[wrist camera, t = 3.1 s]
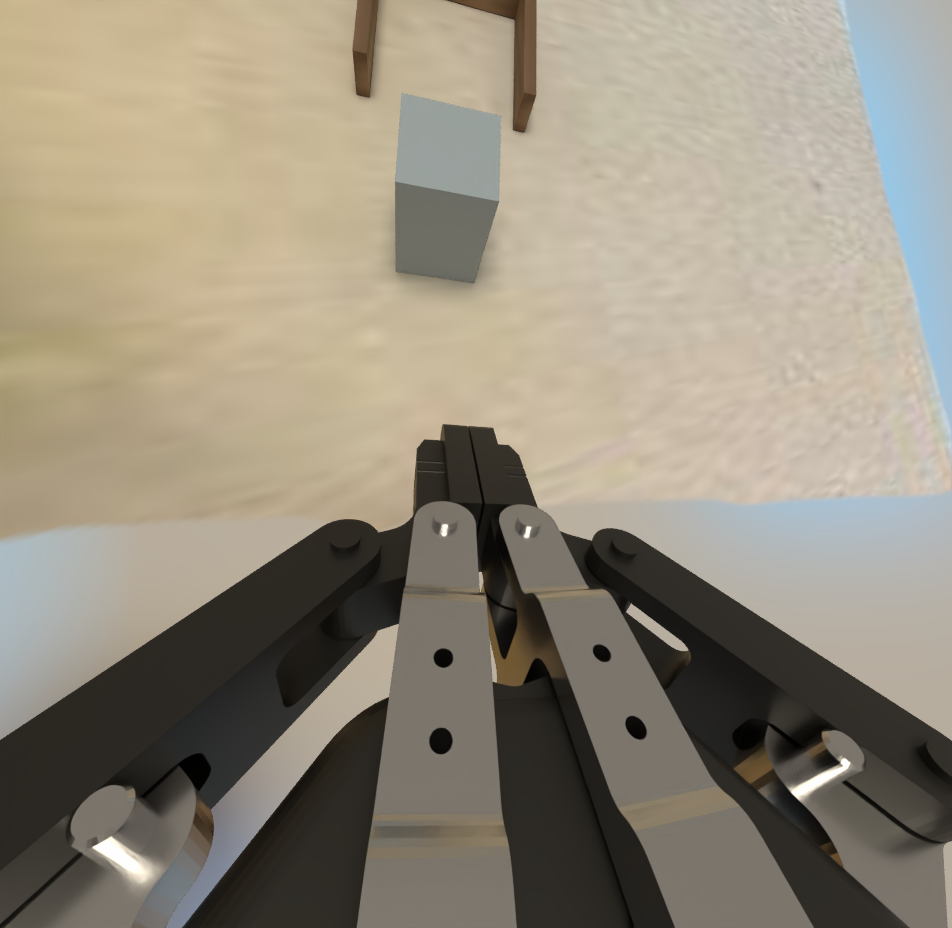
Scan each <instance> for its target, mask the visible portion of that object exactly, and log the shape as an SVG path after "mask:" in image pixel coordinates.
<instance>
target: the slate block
mask: <svg viewBox="0 0 952 928" xmlns="http://www.w3.org/2000/svg"><path fill="white" fill-rule="evenodd" d="M500 137H501V116H499V115H494V114H490V113H486V112H482V111H477V110H473V109H469V108H464V107H460V106H456V105H451V104H447V103H443V102H438V101H434V100H430V99H426V98H421V97H417V96H413V95H408V94H404V93H402V96H401V109H400V123H399V136H398V150H397V164H396V177H395V231H396V272H402V273H409V274H416V275H422V276H429V277H436V278H442V279H449V280H456V281H463V282H469V283H474V281H475V277H476V274H477V271H478V268H479V264H480V261H481V258H482V255H483V252H484V248H485V245H486V242H487V239H488V235H489V232H490V229H491V226H492V223H493V219H494V216H495V213H496V210H497V206H498V203H499V183H500Z"/></svg>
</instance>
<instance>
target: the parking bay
mask: <svg viewBox="0 0 952 928" xmlns="http://www.w3.org/2000/svg"><path fill="white" fill-rule="evenodd" d="M449 1H453V2H456V3H460V4H463V5H467V6H470V7H474V8H477V9H481V10H485V11H488V12H492V13H495V14H499V15H502V16H506V17H509V18H513V19H515V44H514V109H513V130H516V131H521V132H525V129H526V125H527V122H528V119H529V116H530V113H531V110H532V107H533V104H534V100H535V97H536V0H449ZM377 9H378V0H358V1H357V11H356V21H355V31H354V41H353V60H354V71H355V82H356V92H357V94H358V95H362V96H367V97H370V87H371V76H372V65H373V53H374V42H375V31H376V20H377Z"/></svg>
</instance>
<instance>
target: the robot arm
mask: <svg viewBox="0 0 952 928" xmlns="http://www.w3.org/2000/svg"><path fill="white" fill-rule="evenodd" d="M478 572H482V574H483V581H484V582H483V586H482V590H481V593H480V589H479V573H478ZM631 603H632V604H633V605H634V606H636V607H637V608H638V609H640V610H641V611H642V612H644V613H645V614H646V615H648V616H649V617H650V618H652V619H653V620H654V621H656V622H657V623H658V624H660V625H661V626H662V627H664V628H665V629H666V630H668V631H669V632H670V633H672V634H673V635H674V636H676V637H677V638H678V639H680V640H681V641H682V642H683V643H684V644H685V645H686V646H687V648H688V649H689V650H688V651H679V650H676V649H674V648H672V647H671V646H669V645H668V644H666V643H665V642H664V641H663V640H661V639H660V638H659V637H657V636H656V635H655V634H654V633H652V632H651V631H650V630H648V629H647V628H646V627H644V626H643V625H642V624H641V623H639V622H638V621H637V620H635V619H634V618H633V617H631V616H630V615H629V614H628V613H626V611H627V609H628V608H629V606H630V604H631ZM396 624H399V628H398V636H397V642H396V650H395V658H394V666H393V672H392V680H391V687H390V695H389V697H388V698H386V699H384V700H381V701H379V702H378V703H375V704H374V705H372V706H370V707H369V708H367V709H366V710H364V711H363V712H361V713H360V714H358V715H357V716H356V717H355V718H353V719H352V720H351V721H350V722H349V723H347V724H346V725H345V726H344V727H343V728H342V729H341V730H340V731H339V732H338V733H337V734H336V735H335V736H334V737H333V739H332V740H331V741H330V742H329V743H328V744H327V746H326V747H325V748H324V749H323V751H322V752H321V753H320V754H319V756H318V757H317V758H316V760H315V761H314V762H313V764H312V765H311V766H310V767H309V768H308V770H307V771H306V772H305V774H304V775H303V776H302V777H301V778H300V780H299V781H298V782H297V784H296V785H295V786H294V787H293V789H292V790H291V791H290V792H289V794H288V795H287V796H286V798H285V799H284V800H283V801H282V802H281V804H280V805H279V806H278V808H277V809H276V810H275V812H274V813H273V814H272V815H271V817H270V818H269V819H268V820H267V821H266V823H265V824H264V825H263V827H262V828H261V829H260V830H259V832H258V833H257V834H256V836H255V837H254V838H253V839H252V840H251V842H250V843H249V844H248V846H247V847H246V848H245V849H244V851H243V852H242V853H241V854H240V856H239V857H238V858H237V860H236V861H235V862H234V863H233V864H232V866H231V867H230V868H229V870H228V871H227V872H226V873H225V875H224V876H223V877H222V878H221V880H220V881H219V882H218V883H217V885H216V886H215V887H214V889H213V890H212V891H211V892H210V893H209V895H208V896H207V897H206V898H205V900H204V901H203V902H202V904H201V905H200V906H199V907H198V909H197V910H196V911H195V912H194V914H193V915H192V916H191V918H190V919H189V920H188V921H187V922H186V924H185V925H184V926H183V927H182V928H948V927H947V912H946V894H945V876H944V860H943V847H944V845H945V844H946V843H947V842H950V841H952V741H951V740H950V739H949V738H947V737H946V736H944V735H943V734H941V733H940V732H938V731H937V730H935V729H933V728H932V727H930V726H929V725H927V724H926V723H924V722H923V721H921V720H920V719H918V718H916V717H915V716H913V715H912V714H910V713H909V712H907V711H906V710H904V709H902V708H901V707H899V706H898V705H896V704H895V703H893V702H892V701H890V700H889V699H887V698H886V697H884V696H882V695H881V694H879V693H878V692H876V691H875V690H873V689H872V688H870V687H869V686H867V685H865V684H863V683H862V682H860V681H859V680H858V679H856V678H855V677H853V676H851V675H850V674H848V673H847V672H845V671H844V670H842V669H841V668H839V667H837V666H836V665H834V664H833V663H831V662H830V661H828V660H827V659H825V658H823V657H822V656H820V655H819V654H817V653H816V652H814V651H813V650H811V649H809V648H808V647H806V646H805V645H803V644H802V643H800V642H799V641H797V640H796V639H794V638H792V637H791V636H789V635H788V634H786V633H785V632H783V631H782V630H780V629H778V628H777V627H775V626H774V625H772V624H771V623H769V622H768V621H766V620H765V619H763V618H761V617H760V616H758V615H757V614H755V613H754V612H752V611H751V610H749V609H747V608H746V607H744V606H743V605H741V604H740V603H738V602H737V601H735V600H734V599H732V598H730V597H729V596H727V595H726V594H724V593H723V592H721V591H720V590H718V589H716V588H715V587H713V586H712V585H710V584H709V583H707V582H706V581H704V580H703V579H701V578H699V577H698V576H696V575H695V574H693V573H692V572H690V571H689V570H687V569H686V568H684V567H682V566H681V565H679V564H678V563H676V562H674V561H673V560H671V559H670V558H668V557H666V556H665V555H664V554H662V553H661V552H659V551H657V550H656V549H654V548H653V547H651V546H650V545H648V544H647V543H645V542H644V541H642V540H641V539H639V538H637V537H636V536H634V535H632V534H630V533H628V532H626V531H623V530H619V529H613V528H610V529H609V528H607V529H602V530H600V531H598V532H597V533H596V534H595V535H594V537H593V539H592V541H590V540H587V539H583V538H579V537H576V536H572V535H569V534H566V533H563V532H561V531H559V529H558V527H557V525H556V523H555V521H554V520H553V519H552V517H551V516H549V515H548V514H547V513H546V512H544V511H543V510H541V509H539V508H538V507H537V504H536V501H535V499H534V496H533V493H532V490H531V487H530V485H529V482H528V479H527V478H526V474H525V471H524V468H523V465H522V462H521V460H520V457H519V455H518V454H517V453H516V452H515V451H514V450H513V449H512V448H511V447H510V446H509V445H499V444H498V443H497V439H496V436H495V433H494V429H493V428H488V427H475V426H468V427H467V426H460V425H447V424H443V425H442V430H441V438H440V441H439V440H425V439H424V441H423V442H422V443H421V444H420V446H419V447H418V448H417V455H416V468H415V481H414V504H413V517H412V518H411V519H410V520H409V521H408V522H407V523H405V524H404V525H402V526H400V527H398V528H395V529H392V530H388V531H383V532H379V533H378V531H377V530H376V529H375V528H374V527H373V526H371V525H370V524H368V523H366V522H363V521H360V520H353V519H344V520H337V521H334V522H331V523H328V524H326V525H324V526H322V527H321V528H319V529H318V530H316V531H315V532H313V533H312V534H310V535H309V536H307V537H306V538H304V539H303V540H301V541H300V542H298V543H297V544H295V545H294V546H292V547H291V548H289V549H288V550H286V551H285V552H283V553H282V554H280V555H279V556H277V557H276V558H274V559H273V560H271V561H270V562H268V563H267V564H265V565H263V566H262V567H260V568H259V569H257V570H256V571H254V572H253V573H251V574H250V575H249V576H247V577H245V578H244V579H242V580H241V581H239V582H238V583H236V584H235V585H233V586H232V587H230V588H229V589H227V590H226V591H224V592H223V593H221V594H220V595H218V596H217V597H215V598H214V599H212V600H211V601H209V602H208V603H206V604H205V605H203V606H202V607H200V608H199V609H197V610H196V611H194V612H193V613H191V614H190V615H188V616H187V617H185V618H184V619H182V620H181V621H179V622H178V623H176V624H175V625H173V626H172V627H170V628H169V629H167V630H166V631H164V632H163V633H161V634H160V635H158V636H156V637H155V638H153V639H152V640H150V641H149V642H147V643H146V644H145V645H143V646H142V647H140V648H138V649H137V650H135V651H134V652H132V653H131V654H129V655H128V656H126V657H125V658H123V659H122V660H120V661H119V662H117V663H116V664H114V665H113V666H111V667H110V668H108V669H107V670H105V671H104V672H102V673H101V674H99V675H98V676H96V677H95V678H93V679H92V680H90V681H89V682H87V683H86V684H84V685H83V686H81V687H80V688H78V689H77V690H75V691H74V692H72V693H71V694H69V695H68V696H66V697H65V698H63V699H61V700H60V701H58V702H57V703H55V704H54V705H53V706H51V707H50V708H48V709H46V710H45V711H43V712H42V713H40V714H39V715H37V716H36V717H34V718H33V719H31V720H30V721H28V722H27V723H25V724H24V725H22V726H21V727H19V728H18V729H16V730H15V731H13V732H12V733H10V734H9V735H7V736H6V737H4V738H3V739H1V740H0V928H166V926H167V924H168V921H169V919H170V917H171V916H172V914H173V912H174V911H175V909H176V907H177V906H178V904H179V903H180V901H181V900H182V899H183V897H184V896H185V894H186V893H187V892H188V890H189V889H190V887H191V886H192V885H193V883H194V882H195V880H196V879H197V877H198V875H199V874H200V872H201V870H202V868H203V866H204V864H205V862H206V859H207V857H208V854H209V851H210V848H211V845H212V840H213V832H214V823H213V816H212V813H211V809H212V808H213V807H214V806H215V805H216V803H218V801H219V800H220V799H221V798H222V797H223V796H224V795H225V794H226V793H227V792H228V791H229V790H230V789H231V788H232V787H233V786H234V785H235V784H236V782H237V781H238V780H239V779H240V778H241V777H242V776H243V775H244V774H245V773H246V772H247V771H248V770H249V769H250V768H251V767H252V766H253V765H254V764H255V762H256V761H257V760H258V759H259V758H260V757H261V756H262V755H263V754H264V753H265V752H266V751H267V750H268V749H269V748H270V747H271V746H272V745H273V744H274V742H275V741H276V740H277V739H278V738H279V737H280V736H281V735H282V734H283V733H284V732H285V731H286V730H287V729H288V728H289V727H290V726H291V725H292V723H293V722H294V721H295V720H296V719H297V718H298V717H299V716H300V715H301V714H302V713H303V712H304V711H305V710H306V709H307V708H308V707H309V706H310V705H311V703H313V701H314V700H315V699H316V698H317V697H318V696H319V695H320V694H321V693H322V692H323V691H324V690H325V689H326V688H327V686H329V685H330V683H332V681H333V680H334V679H335V678H336V677H337V676H338V675H339V674H340V673H341V672H342V671H343V670H344V669H345V668H346V667H347V666H348V665H349V664H350V662H351V661H352V660H353V659H354V658H355V657H356V656H357V655H358V654H359V653H360V652H361V651H362V650H363V649H364V647H366V646H367V645H368V644H369V642H370V641H371V640H372V639H373V638H374V636H375V635H376V633H377V631H378V630H381V629H384V628H387V627H390V626H393V625H396ZM489 637H490V641H491V645H492V650H493V654H494V658H495V663H496V669H497V683H495V682H492V669H491V655H490V641H489Z"/></svg>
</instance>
